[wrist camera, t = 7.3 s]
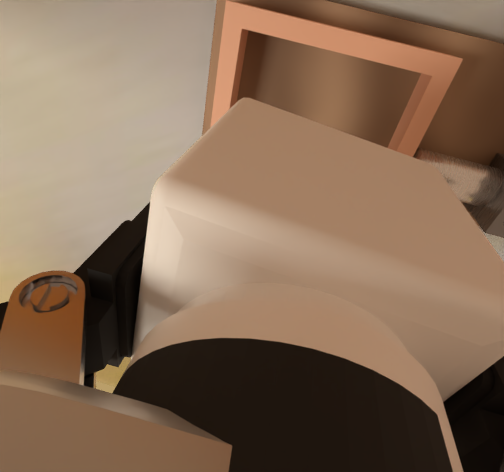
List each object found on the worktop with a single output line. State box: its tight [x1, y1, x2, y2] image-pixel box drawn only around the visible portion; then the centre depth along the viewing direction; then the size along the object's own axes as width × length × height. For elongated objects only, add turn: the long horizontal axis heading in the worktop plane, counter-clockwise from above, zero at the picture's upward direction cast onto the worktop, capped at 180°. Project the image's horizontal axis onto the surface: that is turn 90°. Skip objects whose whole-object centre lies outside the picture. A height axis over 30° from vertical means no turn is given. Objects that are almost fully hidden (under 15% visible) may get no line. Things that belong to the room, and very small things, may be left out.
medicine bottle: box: [112, 98, 504, 472], centre depth 8 cm, size 7×7×12 cm
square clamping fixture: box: [202, 0, 504, 238], centre depth 22 cm, size 20×20×5 cm
